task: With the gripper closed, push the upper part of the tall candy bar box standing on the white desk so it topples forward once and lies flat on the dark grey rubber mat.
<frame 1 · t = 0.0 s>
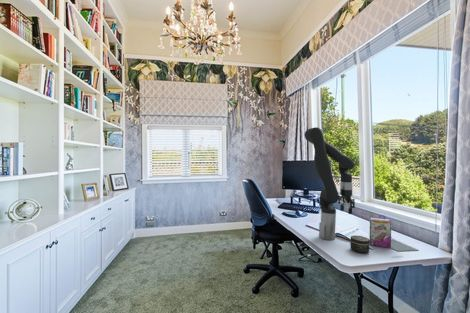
hand: (346, 212, 159), 17 cm above the table, tool pointing down, fingers open, 8 cm apart
ink cartridge box: (382, 236, 164), on the table
mat: (395, 245, 148), on the table
candy bar box: (380, 245, 146), on the table, touching mat
jar: (359, 251, 137), on the table
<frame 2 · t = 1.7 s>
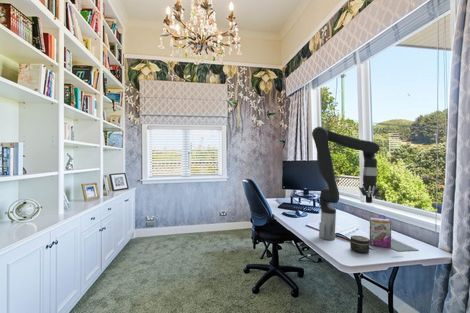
hand: (368, 202, 144), 27 cm above the table, tool pointing down, fingers closed
nothing on the table moved.
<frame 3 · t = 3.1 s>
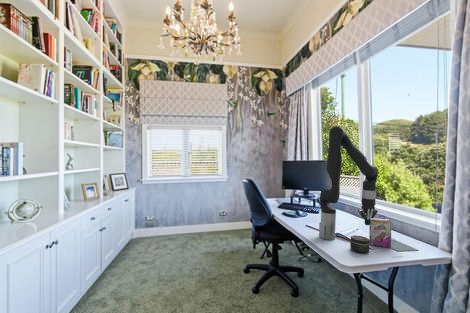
hand: (367, 225, 145), 13 cm above the table, tool pointing down, fingers closed
candy bar box: (380, 245, 146), on the table, touching gripper, mat
everything else where it was.
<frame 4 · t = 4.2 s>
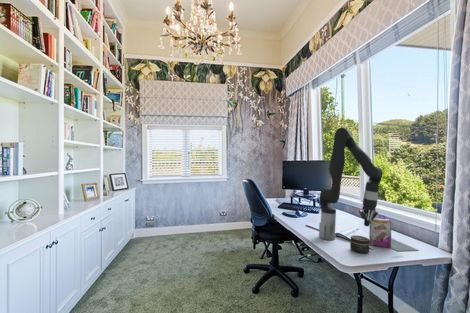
hand: (366, 225, 145), 12 cm above the table, tool pointing down, fingers closed
candy bar box: (380, 245, 146), on the table, touching gripper, mat
everything else where it was.
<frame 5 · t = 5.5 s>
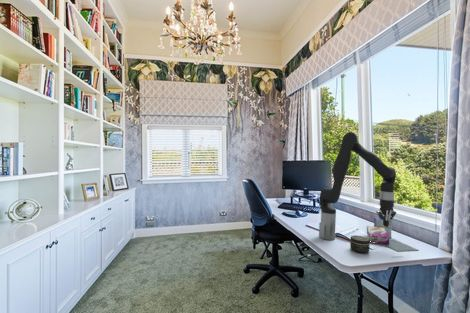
hand: (385, 226, 146), 12 cm above the table, tool pointing down, fingers closed
ink cartridge box: (382, 236, 164), on the table, touching candy bar box
candy bar box: (379, 240, 148), point 3 cm above the table, touching ink cartridge box, mat
everything else where it was.
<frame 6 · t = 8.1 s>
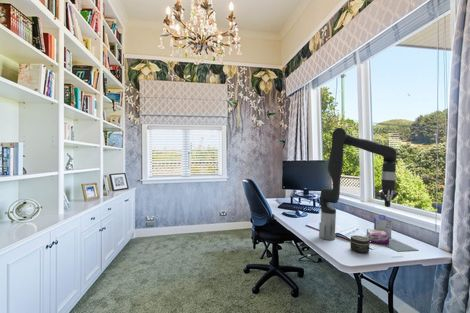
hand: (387, 206, 146), 25 cm above the table, tool pointing down, fingers closed
ink cartridge box: (382, 236, 165), on the table
candy bar box: (379, 239, 148), point 3 cm above the table, touching mat
everything else where it was.
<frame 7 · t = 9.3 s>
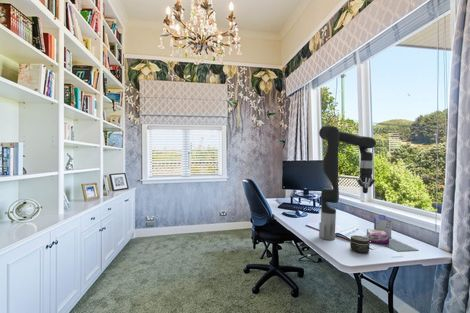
hand: (365, 193, 157), 31 cm above the table, tool pointing down, fingers closed
nothing on the table moved.
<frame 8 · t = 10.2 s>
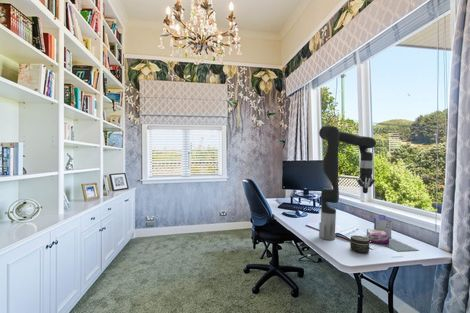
hand: (365, 193, 157), 31 cm above the table, tool pointing down, fingers closed
nothing on the table moved.
at the end: candy bar box tilted 93°; candy bar box touching mat, table; candy bar box inside the target area (7.9 cm from its centre), point 3.2 cm above the table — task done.
